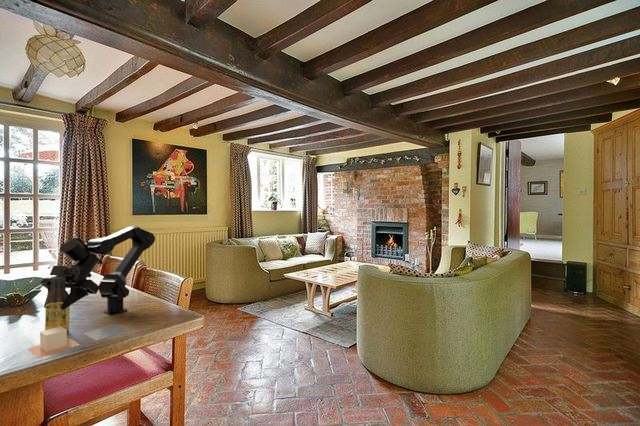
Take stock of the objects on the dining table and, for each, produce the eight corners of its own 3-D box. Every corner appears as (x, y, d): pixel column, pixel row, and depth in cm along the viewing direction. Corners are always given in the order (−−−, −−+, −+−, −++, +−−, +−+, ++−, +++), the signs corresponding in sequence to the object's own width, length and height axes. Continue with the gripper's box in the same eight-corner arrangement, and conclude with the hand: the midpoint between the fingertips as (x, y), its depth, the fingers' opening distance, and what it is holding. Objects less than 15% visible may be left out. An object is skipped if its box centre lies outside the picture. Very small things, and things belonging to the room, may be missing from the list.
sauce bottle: (42, 341, 100) (40, 280, 99) (48, 333, 105) (46, 276, 105) (68, 336, 103) (66, 277, 102) (72, 329, 108) (71, 273, 108)
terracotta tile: (26, 350, 94) (26, 348, 94) (67, 338, 102) (67, 336, 102) (38, 360, 88) (38, 357, 88) (80, 346, 97) (80, 344, 97)
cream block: (40, 347, 94) (40, 331, 94) (60, 341, 98) (60, 326, 98) (46, 352, 92) (45, 335, 91) (67, 345, 96) (66, 329, 96)
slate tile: (83, 335, 105) (83, 333, 105) (115, 325, 113) (115, 323, 113) (96, 342, 99) (96, 340, 99) (129, 331, 108) (129, 330, 108)
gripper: (44, 254, 108) (9, 295, 98) (91, 256, 106) (60, 298, 95) (66, 271, 116) (36, 311, 106) (110, 273, 114) (84, 314, 103)
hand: (53, 308), depth 102 cm, fingers closed on sauce bottle, 6 cm apart
